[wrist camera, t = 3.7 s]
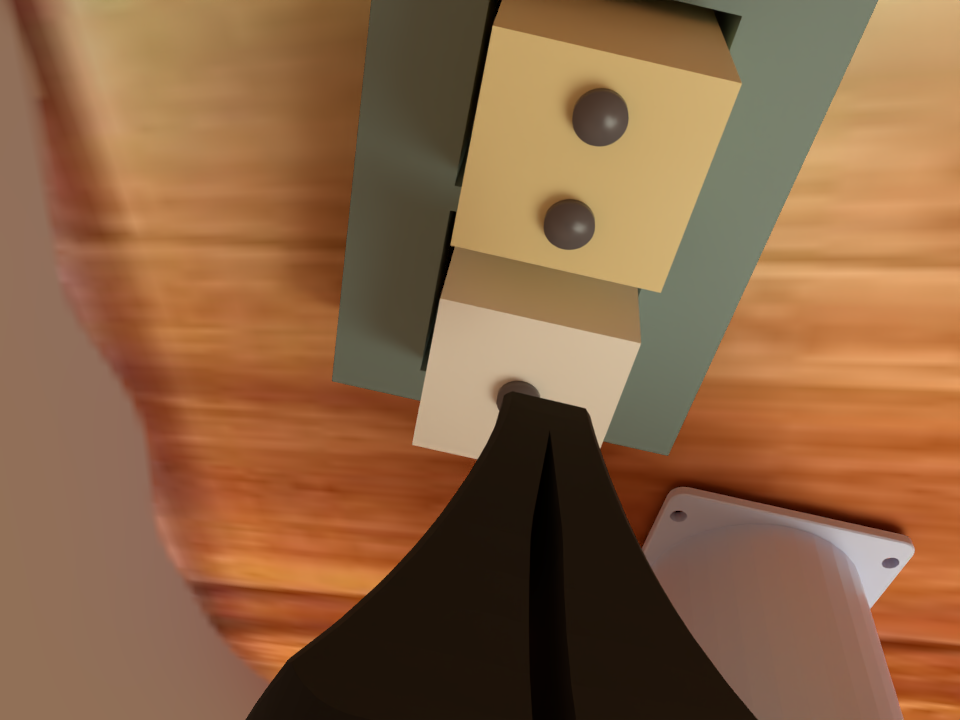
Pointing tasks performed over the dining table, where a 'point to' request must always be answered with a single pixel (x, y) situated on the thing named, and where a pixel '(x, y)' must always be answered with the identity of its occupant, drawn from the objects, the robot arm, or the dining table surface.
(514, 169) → the toy block
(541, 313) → the toy block
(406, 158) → the toy block sorting board
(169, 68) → the dining table surface
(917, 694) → the dining table surface
